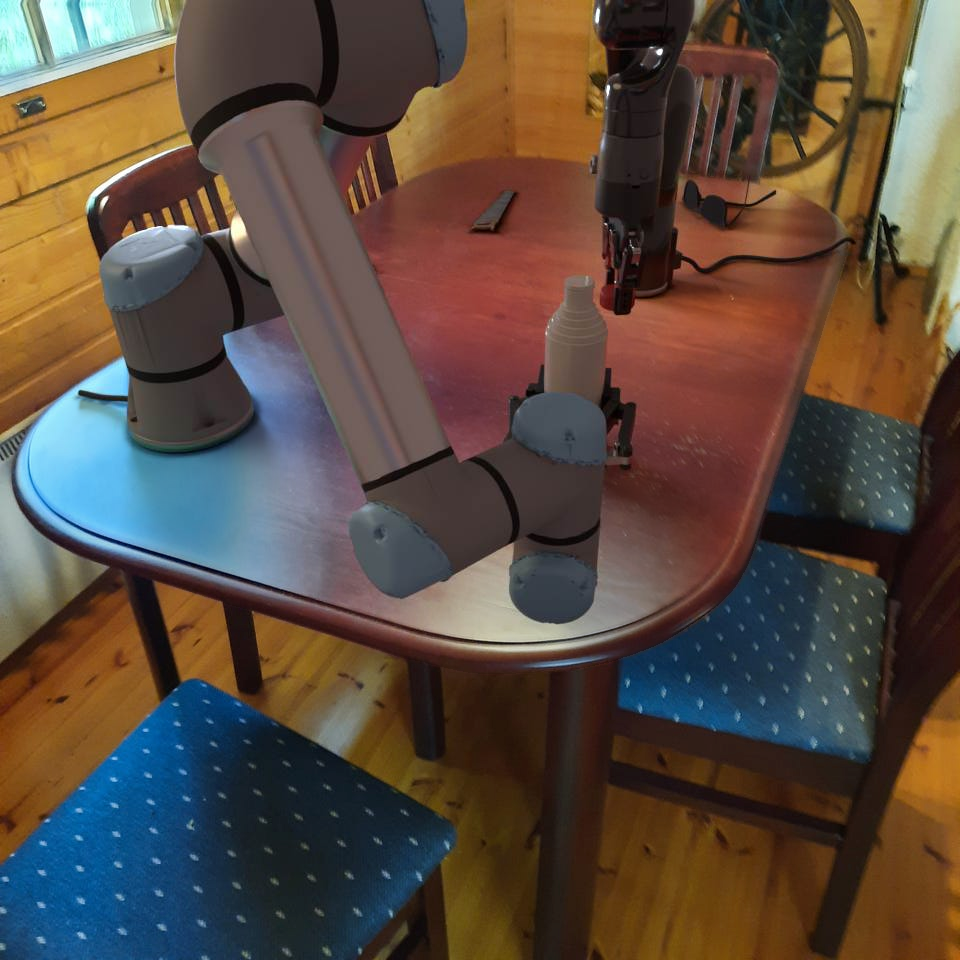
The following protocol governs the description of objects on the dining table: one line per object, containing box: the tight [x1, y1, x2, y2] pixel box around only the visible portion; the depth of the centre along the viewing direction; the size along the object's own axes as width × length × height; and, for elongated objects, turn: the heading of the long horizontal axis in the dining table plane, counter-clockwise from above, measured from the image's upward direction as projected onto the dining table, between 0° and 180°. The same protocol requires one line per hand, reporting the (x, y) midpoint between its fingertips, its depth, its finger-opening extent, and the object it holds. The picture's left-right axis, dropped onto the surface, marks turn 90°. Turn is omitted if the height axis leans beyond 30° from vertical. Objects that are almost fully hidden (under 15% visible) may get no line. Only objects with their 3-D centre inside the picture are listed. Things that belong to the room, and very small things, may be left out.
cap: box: [599, 284, 636, 312], centre depth 110 cm, size 4×4×2 cm
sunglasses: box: [681, 175, 777, 228], centre depth 163 cm, size 17×14×5 cm
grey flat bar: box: [470, 189, 515, 232], centre depth 168 cm, size 24×5×1 cm, turn 168°
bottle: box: [543, 274, 609, 410], centre depth 96 cm, size 7×7×21 cm
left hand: (575, 376), depth 103 cm, fingers closed on bottle, 7 cm apart
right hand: (617, 305), depth 110 cm, fingers closed on cap, 4 cm apart
